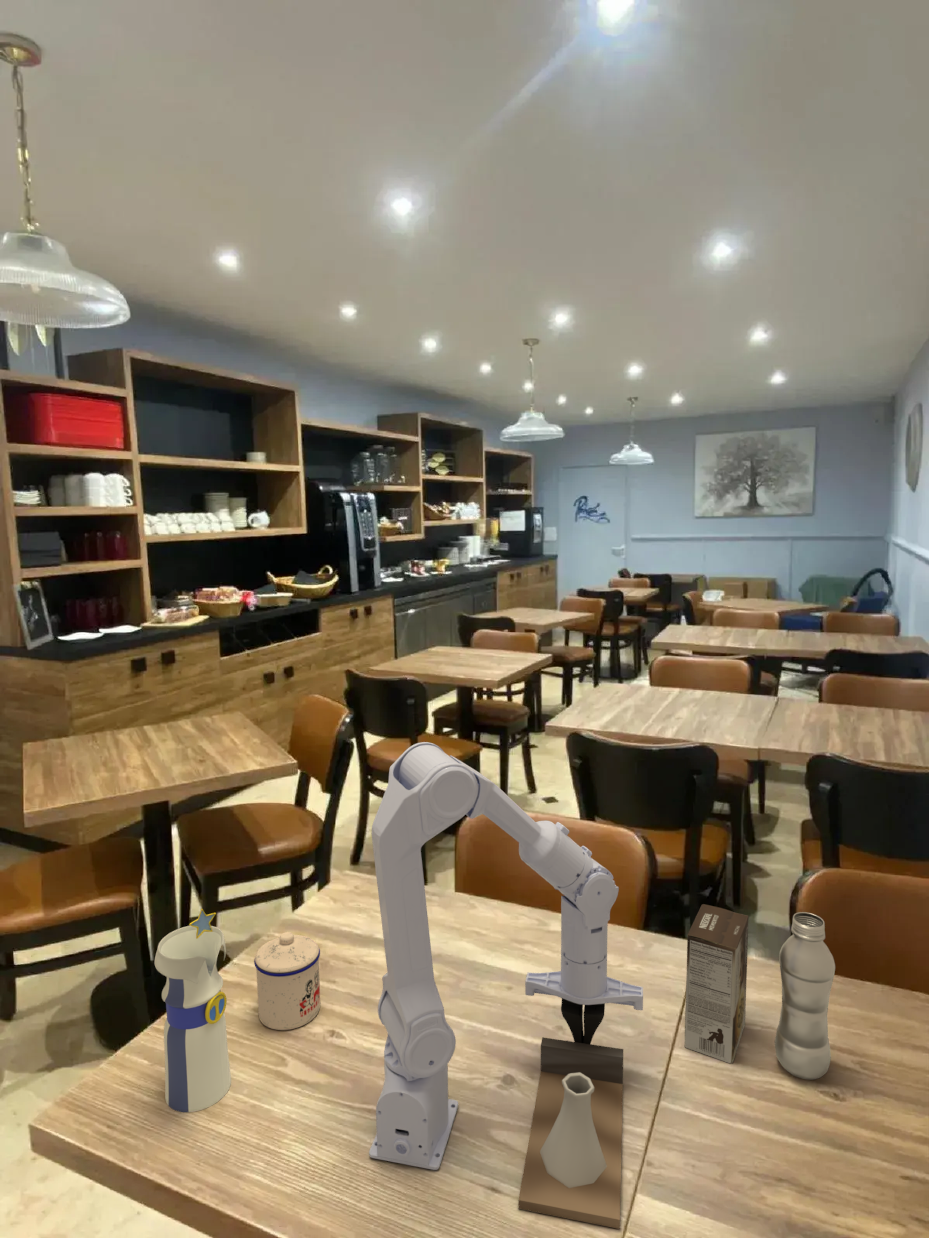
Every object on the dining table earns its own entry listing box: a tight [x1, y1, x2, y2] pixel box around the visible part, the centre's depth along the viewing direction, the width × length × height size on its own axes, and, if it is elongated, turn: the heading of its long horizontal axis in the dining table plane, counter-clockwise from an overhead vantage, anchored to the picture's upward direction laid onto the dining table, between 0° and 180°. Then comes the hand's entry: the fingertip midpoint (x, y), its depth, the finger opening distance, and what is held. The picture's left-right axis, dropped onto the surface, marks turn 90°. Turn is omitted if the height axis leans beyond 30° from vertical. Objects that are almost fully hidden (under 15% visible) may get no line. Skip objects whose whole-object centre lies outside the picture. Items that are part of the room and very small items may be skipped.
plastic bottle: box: [774, 911, 836, 1081], centre depth 91 cm, size 6×7×20 cm
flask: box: [540, 1072, 607, 1188], centre depth 78 cm, size 7×7×10 cm
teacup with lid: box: [253, 931, 321, 1031], centre depth 105 cm, size 12×9×12 cm
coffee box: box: [684, 903, 749, 1064], centre depth 98 cm, size 9×6×16 cm
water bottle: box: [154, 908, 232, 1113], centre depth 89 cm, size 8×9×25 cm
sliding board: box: [517, 1036, 624, 1230], centre depth 82 cm, size 20×10×4 cm, turn 167°
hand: (583, 1051), depth 93 cm, fingers closed
